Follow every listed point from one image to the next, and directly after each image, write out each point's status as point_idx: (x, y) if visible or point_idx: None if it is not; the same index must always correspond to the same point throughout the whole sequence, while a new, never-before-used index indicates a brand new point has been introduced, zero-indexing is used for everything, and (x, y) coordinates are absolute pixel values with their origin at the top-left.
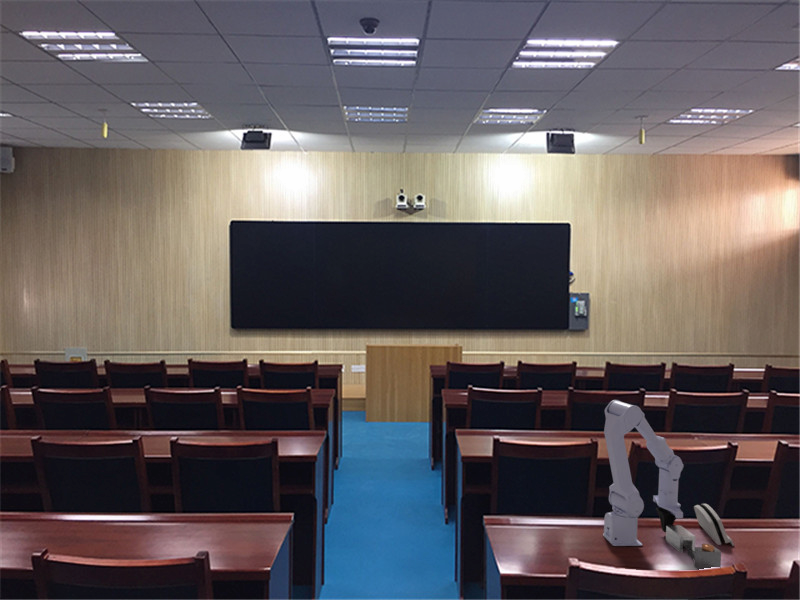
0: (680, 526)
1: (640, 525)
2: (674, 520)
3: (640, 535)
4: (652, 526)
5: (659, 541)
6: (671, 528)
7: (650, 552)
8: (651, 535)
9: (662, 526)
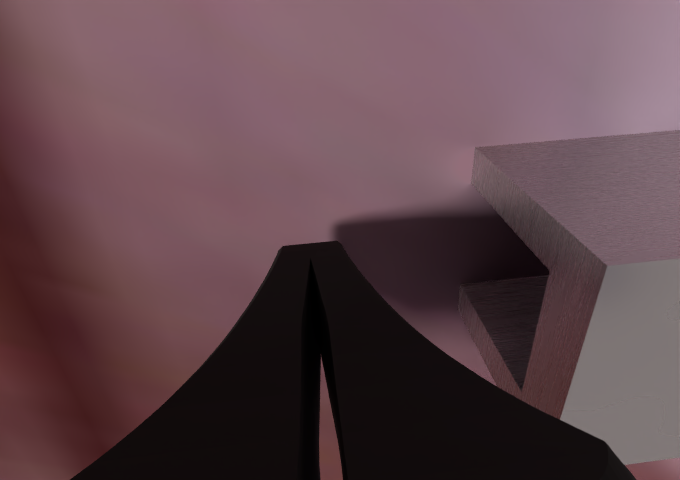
0: (652, 296)
1: (65, 412)
2: (442, 359)
3: (332, 460)
4: (45, 311)
5: (465, 365)
6: (661, 446)
7: (630, 467)
8: (326, 388)
9: (319, 378)
